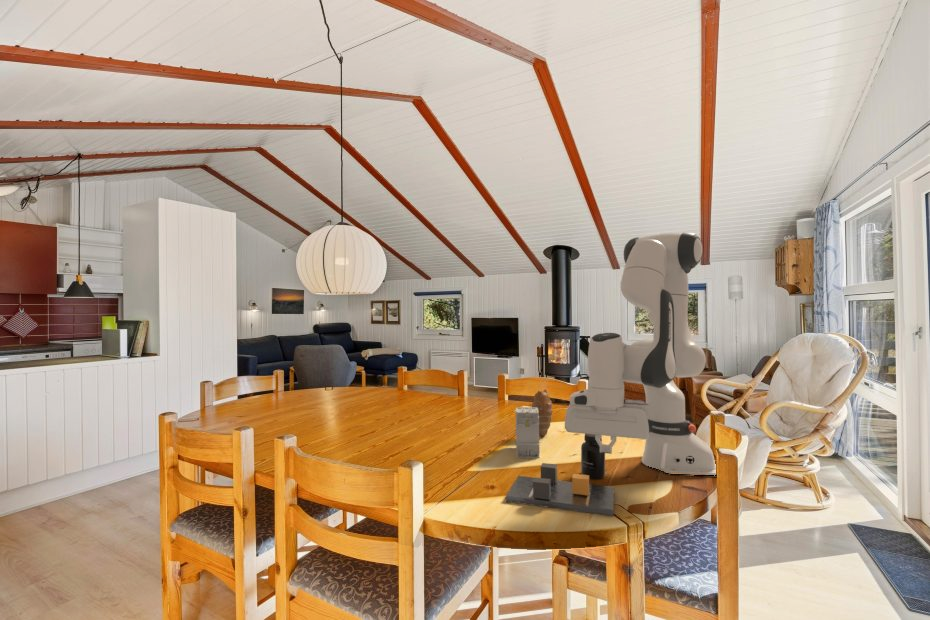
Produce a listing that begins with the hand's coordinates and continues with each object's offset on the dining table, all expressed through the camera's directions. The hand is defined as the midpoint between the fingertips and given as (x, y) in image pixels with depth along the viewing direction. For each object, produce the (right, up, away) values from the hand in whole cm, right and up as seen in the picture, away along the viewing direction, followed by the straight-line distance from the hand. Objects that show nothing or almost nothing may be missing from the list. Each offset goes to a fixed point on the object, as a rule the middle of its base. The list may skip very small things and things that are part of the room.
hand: (605, 452), depth 110 cm
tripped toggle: (-6, -11, +2) cm, 13 cm away
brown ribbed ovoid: (-6, -13, +59) cm, 60 cm away
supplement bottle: (+2, -13, +19) cm, 23 cm away
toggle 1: (-12, -11, +11) cm, 20 cm away
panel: (-10, -13, +4) cm, 17 cm away
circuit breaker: (-14, -13, +42) cm, 46 cm away
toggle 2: (-16, -11, 0) cm, 19 cm away
